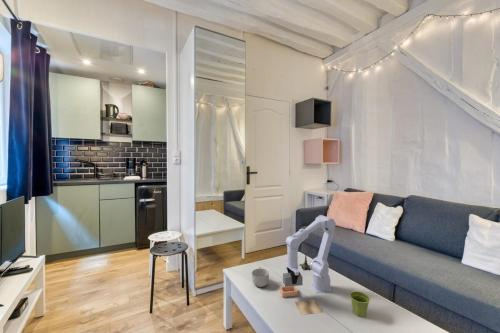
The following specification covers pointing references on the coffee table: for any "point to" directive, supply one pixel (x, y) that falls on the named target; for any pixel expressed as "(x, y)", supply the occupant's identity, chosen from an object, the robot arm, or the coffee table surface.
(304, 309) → the wooden board
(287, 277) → the gray rectangular block
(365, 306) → the plant pot
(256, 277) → the teacup
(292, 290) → the peach slab
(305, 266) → the eiffel tower figurine
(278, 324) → the coffee table surface
